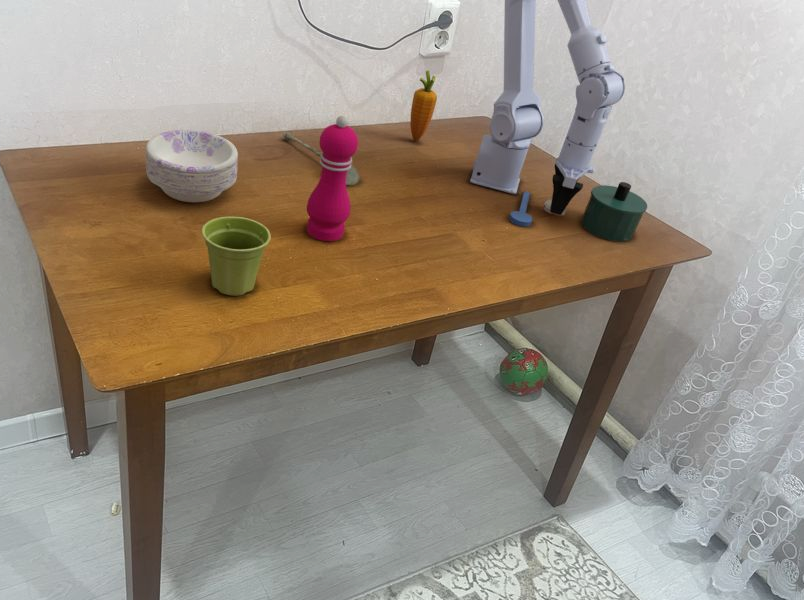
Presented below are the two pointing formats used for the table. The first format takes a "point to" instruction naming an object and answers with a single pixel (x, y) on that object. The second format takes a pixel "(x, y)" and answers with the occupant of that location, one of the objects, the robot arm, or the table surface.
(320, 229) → the pepper mill
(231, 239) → the plant pot
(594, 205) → the saucepan
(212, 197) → the paper bowls
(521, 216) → the blue spoon
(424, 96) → the carrot
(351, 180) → the soupspoon
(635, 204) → the saucepan lid
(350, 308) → the table surface
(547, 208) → the cream teardrop shape
